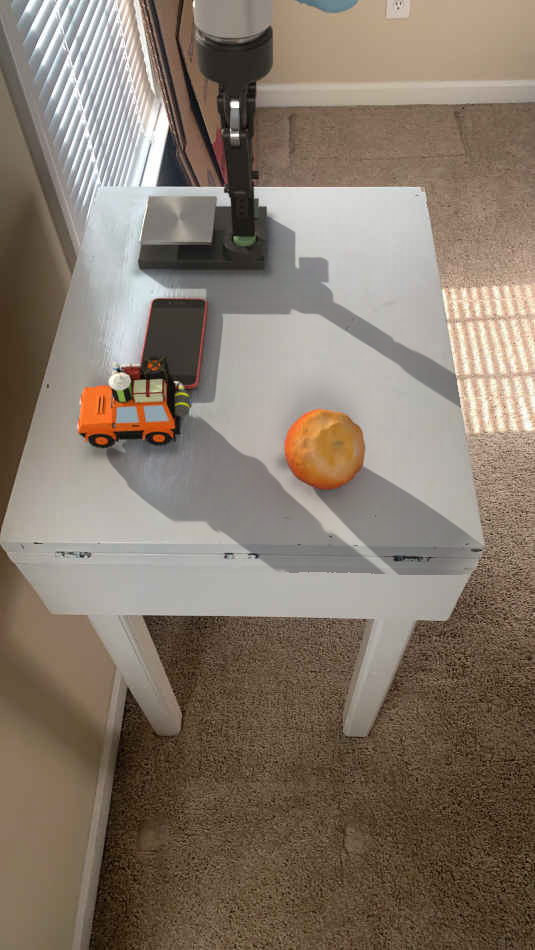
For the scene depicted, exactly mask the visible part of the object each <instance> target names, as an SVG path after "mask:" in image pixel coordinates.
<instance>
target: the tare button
mask: <svg viewBox="0 0 535 950" xmlns="http://www.w3.org/2000/svg"><path fill="white" fill-rule="evenodd" d="M255 243H256V233H255V236H234V244H236V245H238V246H246V247H248V246H251V245H253V244H255Z"/></svg>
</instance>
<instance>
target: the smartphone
mask: <svg viewBox="0 0 535 950" xmlns="http://www.w3.org/2000/svg"><path fill="white" fill-rule="evenodd" d="M208 305H209V303H208V301H207V300H206V299H205V298H189V297H188V298H187V297H159V298H158V297H157V298H154V299H152V301H151V303H150V308H149V312H148V317H147V324H146V329H145V335H144V341H143V346H142V351H141V356H140V362H139V364H141V363H142V361H143V358H144V357H146V358H147V357H150V356H155V355H158V356H161V357H163V356H164V357H165V359H166V362H167V363H168V369H169V374H170V376H171V378H172V379H173V381H177V382H181V383H182V385H183V386H184V390H192V389H195V388H196V387H197V386H198V385H199V381H200V373H201V365H202V358H203V357H202V356H203V348H204V341H205V340H204V339H205V332H206V324H207V315H208V308H209V307H208ZM175 389H176V390H179V388H178V387H177V386H175Z"/></svg>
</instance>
